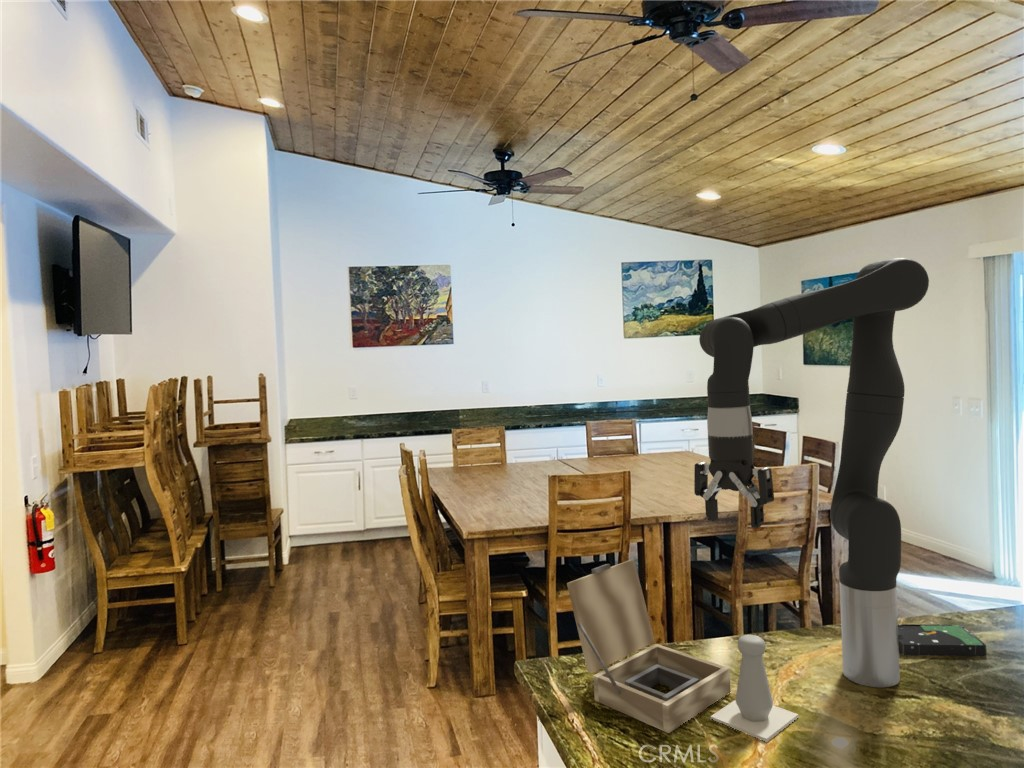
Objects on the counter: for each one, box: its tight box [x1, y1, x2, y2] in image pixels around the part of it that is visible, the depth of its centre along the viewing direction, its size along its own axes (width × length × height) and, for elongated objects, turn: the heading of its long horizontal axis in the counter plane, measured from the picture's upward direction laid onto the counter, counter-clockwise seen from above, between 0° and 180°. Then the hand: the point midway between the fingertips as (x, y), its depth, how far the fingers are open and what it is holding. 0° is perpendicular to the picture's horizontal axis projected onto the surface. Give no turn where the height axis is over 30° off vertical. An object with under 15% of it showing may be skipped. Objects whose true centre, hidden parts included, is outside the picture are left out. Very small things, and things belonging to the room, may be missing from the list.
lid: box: [566, 558, 656, 674], centre depth 133 cm, size 18×17×1 cm
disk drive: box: [898, 623, 987, 657], centre depth 140 cm, size 10×3×15 cm
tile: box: [710, 699, 799, 743], centre depth 117 cm, size 10×10×1 cm
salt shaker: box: [734, 634, 774, 722], centre depth 116 cm, size 6×6×13 cm
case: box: [576, 622, 732, 734], centre depth 126 cm, size 19×18×14 cm
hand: (734, 523), depth 125 cm, fingers open, 8 cm apart
